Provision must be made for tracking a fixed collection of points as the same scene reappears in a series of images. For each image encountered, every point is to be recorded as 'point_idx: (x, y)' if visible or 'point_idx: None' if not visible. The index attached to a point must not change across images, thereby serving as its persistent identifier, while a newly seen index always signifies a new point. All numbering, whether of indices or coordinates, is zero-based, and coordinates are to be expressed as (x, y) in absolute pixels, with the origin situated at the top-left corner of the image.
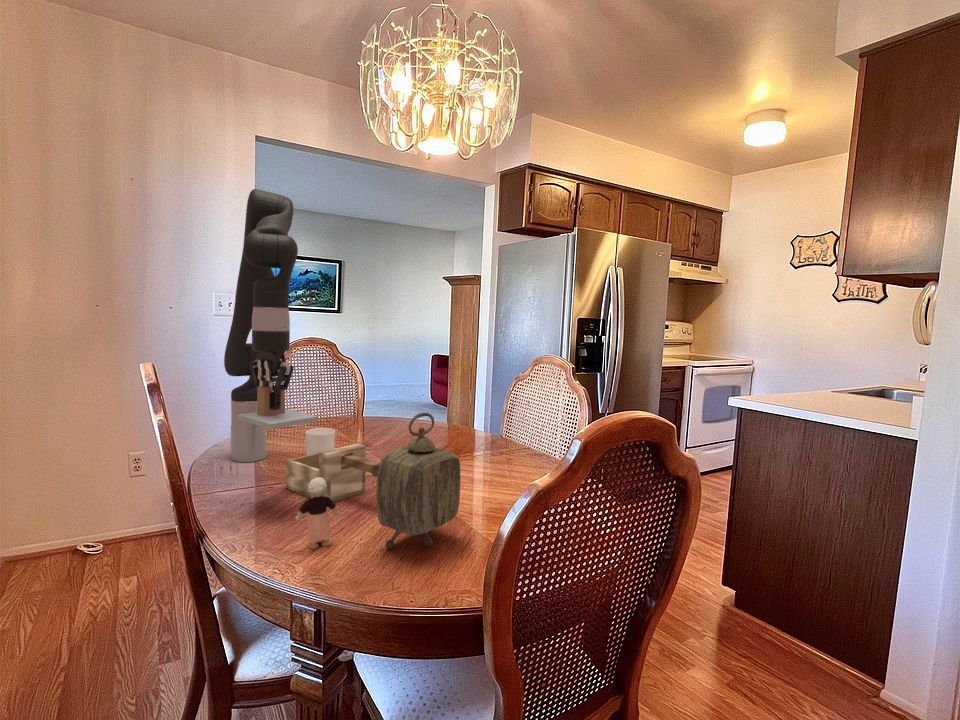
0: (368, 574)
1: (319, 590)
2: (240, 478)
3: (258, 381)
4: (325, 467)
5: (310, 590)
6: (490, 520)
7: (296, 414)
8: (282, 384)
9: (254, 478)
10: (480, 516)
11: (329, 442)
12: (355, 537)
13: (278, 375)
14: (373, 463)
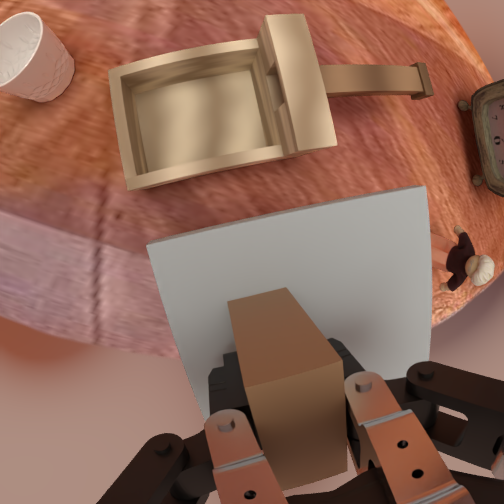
0: (492, 233)
1: (483, 285)
2: (37, 252)
3: (199, 501)
4: (315, 150)
5: (479, 292)
6: (464, 34)
7: (343, 248)
8: (432, 404)
9: (48, 227)
10: (451, 29)
11: (52, 39)
12: (433, 193)
13: (485, 461)
14: (408, 79)
